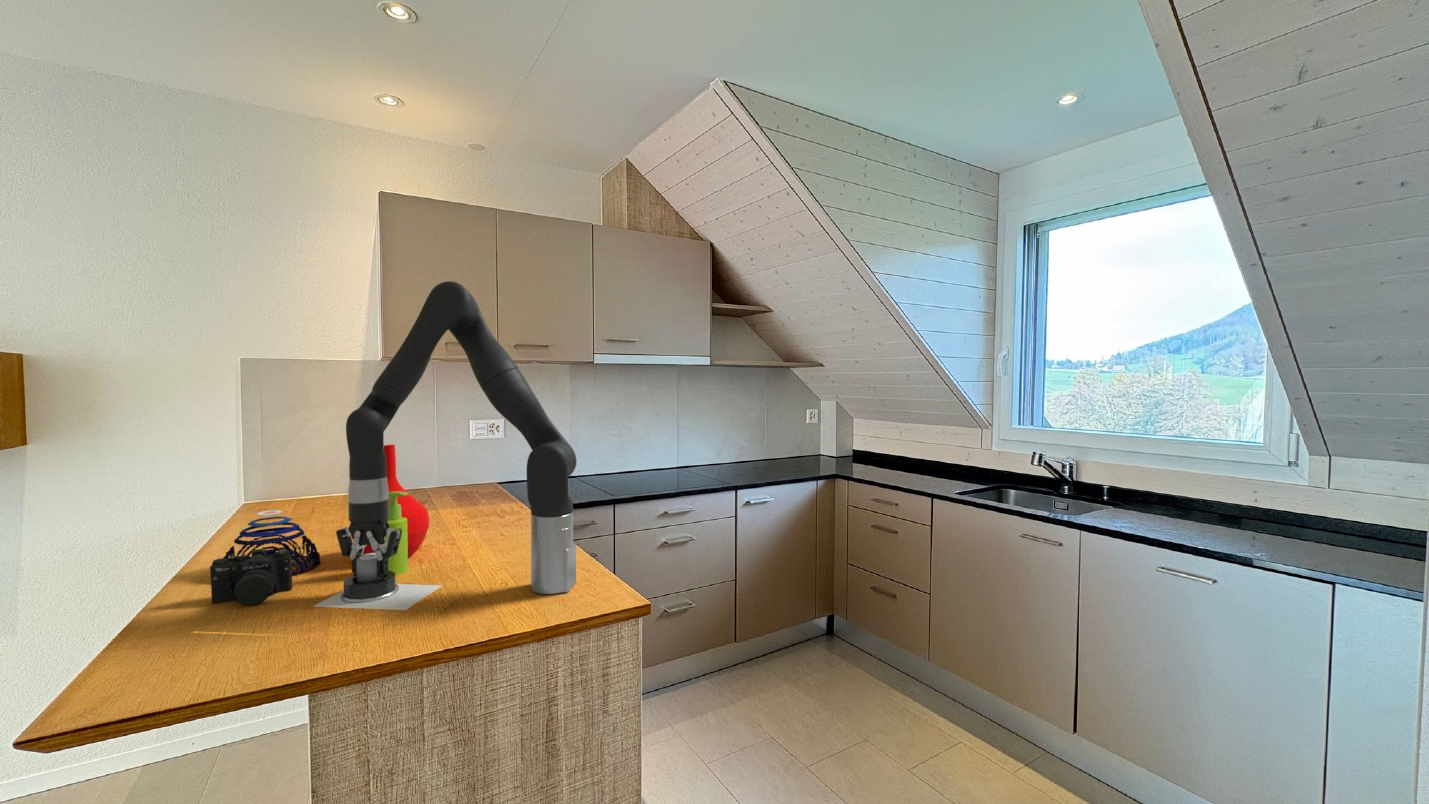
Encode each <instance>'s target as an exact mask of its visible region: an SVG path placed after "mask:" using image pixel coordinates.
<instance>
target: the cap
mask: <svg viewBox="0 0 1429 804" xmlns="http://www.w3.org/2000/svg"><path fill="white" fill-rule="evenodd" d="M377 560H378V559H377V556H376V553H368V554H364V555H361V556H359V557H357V558H356V565H357V583H368V582H375V581H378V580H382V579H383V576H382V577H377Z"/></svg>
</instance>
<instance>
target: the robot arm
mask: <svg viewBox="0 0 1429 804" xmlns="http://www.w3.org/2000/svg"><path fill="white" fill-rule="evenodd" d="M447 331H449V332H450V333H451V334H452V336H453V337H454V338H455V340H456V341H457V343H458V344H459V345H460V347H461V348H462V349H463V351H464V353H465V355H466V357H467V359H468V361H469V365H470V367H471V370H472V372H473V374H474V377H475V379H476V381H477V383H478V385H479V387H480V388H481V390H482V392H483V394H484V395H485V396H486V397H487V399H488V401H489V403H490V404H491V405H492V406H493V408H494V409H495V410H496V411H497V412H498V413H499V414H500V415H501V416H502V417H503V418H504V419H505V420H506V421H508V423H510V424H511V425H512V426H513V427H515V428H516V430H518V431H519V433H520V434H521V435H522V436H523V438H524V439H525V441H526V442H527V443H528V445H529V447H530V449H531V450H532V451H530V453H529V455H528V457H527V460H526V461H527V462H526V487H527V488H526V491H527V501H528V504H529V506H530V553H531V554H530V559H531V560H530V569H531V570H530V571H531V576H530V577H531V579H530V582H531V585H530V586H531V587H530V588H531V590H532V592H533V593H536V594H539V595H540V594H541V595H553V594H560V593H561V594H562V593H569V592H570V591H571V589H572V588H573V587H574V586H575V585H576V584H577V544H576V542H574V502H573V499H572V497H570V493H569V477H570V476H571V475H573V473H574V471H575V470H576V466H577V457H576V453H575V451H574V449H573V447H572V446H571V445H570V443H569V442H568V441H567V440H566V438H565V437H564V436H563V435H562V434H561V432H560V431H559V430H558V428H557V427H556V426H555V424H554V423H553V422H552V421H551V419H550V418H549V417H548V415H547V413H546V411H545V409H544V408H543V406H542V404H541V402H540V401H539V399H538V398H537V396H536V395H535V393H534V391H533V390H532V388H531V386H530V384H529V383H528V381H527V380H526V378H525V377H524V375H523V373H522V372H521V370H520V369H519V367H518V365H517V364H516V363H515V361H514V360H513V359H512V358H511V356H510V354H508V352H507V351H506V349H504V347H503V346H502V345H501V343H499V341H498V340H497V339H496V338H495V336H494V335H493V333H492V331H491V329H490V328H489V325H488V324H487V322H486V320H485V318H484V316H483V314H482V312H481V310H480V307H479V304H478V303H477V301H476V299H475V298H474V296H473V295H472V294H471V293H470V291H469V290H468V289H467V288H466V287H464V285H462V284H460V283H458V282H457V281H450V280H448V281H443V282H439V283H438V284H436V285H435V286H434V287H432V289H431V291H430V293H429V294H428V296H427V297H426V300H425V302H424V304H423V306H422V308H421V310H420V312H419V314H418V316H417V318H416V320H415V322H414V323H413V326H412V327H411V329H410V330H409V332H408V334H407V336H406V338H405V339H404V341H403V342H402V344H401V345H400V347H399V349H398V350H397V352H396V353H395V355H393V357H392V358H391V360H390V361H389V363H388V364H387V365H386V366H385V368H384V370H383V371H382V372H381V373H380V375H379V376H378V377H377V379H376V380H375V382H374V384H373V385H372V389H371V391H370V393H369V394H368V395H367V397H366V398H365V399H364V400H363V402H362V403H361V405H360V406H359V407H358V408H357V409H355V410H353V411H352V412H351V413H349V415H348V417H347V418H346V423H345V436H346V442H347V444H346V445H347V449H348V454H349V455H348V456H349V465H348V468H349V473H348V474H349V479H348V480H349V483H348V491H347V492H348V493H347V494H348V496H347V498H348V521H349V522H350V523H349V526H348V527H347V526H346V527H343V528H340V529H337V530H336V538H337V541H338V545H339V548H340V552H341V555H342V557H347V558H349V559H351V572H352V574H353V575H354V576H357V565H356V558H357V557H359V556H361V555H362V554H363V551H364V548H365V547H366V545H370V546H371V547H372V549H373V551H375V553H376V556H377V559H378V560H377V577H382V576H384V575H386V573H387V572H388V558H389V557H391V556H393V555H395V554H397V551H398V547H399V543H400V539H401V535H402V530H401V529H397V530H396V529H392V528H390V526H389V524H388V517H389V500H388V482H387V462H386V455H385V453H384V442H385V441H384V432H385V430H386V429H387V428H388V426H389V425H390V423H391V422H392V421H393V418H394V417H395V416H396V413H397V412H398V410H399V408H400V406H401V405H402V404H403V403H404V402H405V401H406V400H407V399H408V397H409V396H410V394H411V393H412V392H413V390H414V389H415V387H416V386H417V384H418V383H420V380H421V379H422V377H423V375H424V373H425V372H426V369H427V367H428V365H429V362H430V359H431V357H432V355H433V352H434V351H435V349H436V347H437V346H438V343H439V341H440V340H441V339H442V337H443V336H444V334H446V333H447ZM386 534H388V537H387V538H388V539H389V541H388V544H387V541H386V538H385V536H386ZM351 535H352V536H353V537H354V540H353V539H352V537H351ZM378 543H380V545H378ZM575 583H576V584H575ZM574 584H575V585H574ZM572 586H573V587H572ZM569 590H570V591H569ZM568 591H569V592H568Z"/></svg>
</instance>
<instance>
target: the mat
mask: <svg viewBox="0 0 1429 804" xmlns="http://www.w3.org/2000/svg"><path fill="white" fill-rule="evenodd" d="M396 584H397V585H398V586H399V591H398V592H397V593H395V594H394V595H392V596H390V597H387V598H384V599H381V600H377V601H372V602H365V603H348V602H344V601H342V600H341V594H342V593H343V592H344V589H343V590H342V591H339V592H338V593H336V594H333V595H332V596H330V597H328V598H327V599H325V600H323V601H321V602H318V603H316V604H315V605H313V606H312V608H318V607H319V608H334V609H336V608H338V609H340V608H341V609H366V610H367V609H371V610H391V611H392V610H394V611H397V610H398V611H406V610H408V609H409V608H411V607H413V606H414V605H416V604H417V603H419V602H420V601H422V600H423V599H425V598H426V597H427V596H429V595H431V594H433V592H435V591H437V590H438V589H439V588H441V587H443V585H440V584H439V585H437V584H410V583H409V584H407V583H405V584H404V583H396Z"/></svg>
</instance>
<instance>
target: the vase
mask: <svg viewBox="0 0 1429 804" xmlns="http://www.w3.org/2000/svg"><path fill="white" fill-rule="evenodd" d="M384 453H385V455H386V462H387V482H388V492H394V491H401V492H406V493H409V492H408V491H407V490H406V489H405V488H404V487H403V486H402V485H401V484H400V482H399V480H398V478H397V461H396V460H397V459H396V456H397V455H396V445H395V444H385V445H384ZM388 500H389V495H388ZM397 504H399V505H401V517H403V518H407V539H408V559H409V558H410V557H412V556H413V555H414V554H415V553H416V552H417V551H418V550H419V548H420V547H421V545H422V544H423V542H424V541H425V538H426V536H427V533H428V530H429V527H430V517H429V512H428V509H427V507H425V506H424V505H423V504H422V503H420V502H419V501H418V500H417V499H416V498H415V497H414V496H413V495H412V494H410V495H408V496H405V497H402V496H397ZM351 539H352V541H353V540H354V537H353V536H352V535H351ZM378 545H380V543H378ZM368 553H375V551H373V549H372V547H371V546H370V545H366V547H365V548H364V551H363V554H362V555H364V554H368Z"/></svg>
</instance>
